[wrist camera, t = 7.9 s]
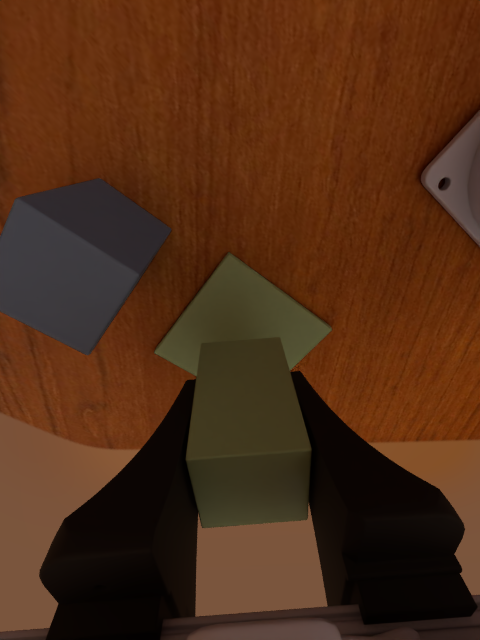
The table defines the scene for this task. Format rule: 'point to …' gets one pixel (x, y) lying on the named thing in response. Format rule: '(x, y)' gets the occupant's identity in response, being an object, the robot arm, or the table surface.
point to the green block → (247, 436)
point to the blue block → (74, 259)
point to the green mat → (240, 317)
